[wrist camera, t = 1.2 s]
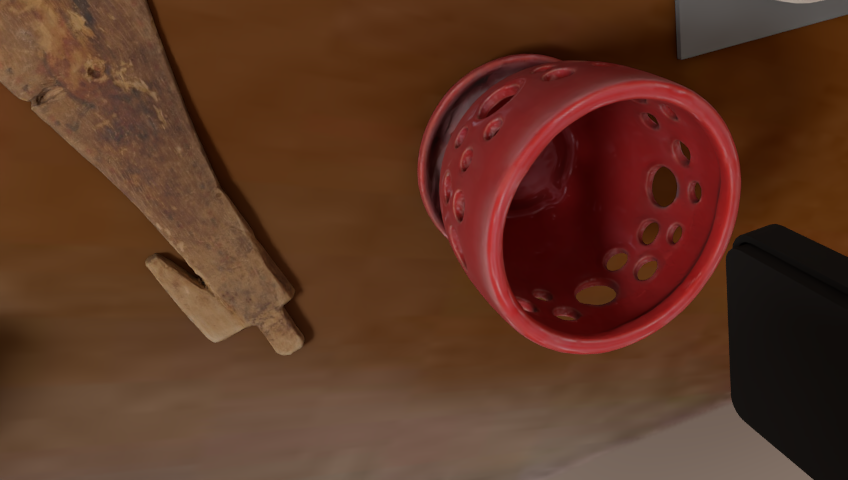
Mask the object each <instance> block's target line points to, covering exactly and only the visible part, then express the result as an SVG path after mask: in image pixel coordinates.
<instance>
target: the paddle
mask: <svg viewBox="0 0 848 480" xmlns="http://www.w3.org/2000/svg"><path fill="white" fill-rule="evenodd" d="M0 82H1V83H2V84H3V85H4V86H5V87H6V88H7V89H8V90H10V91H11V92H12V93H13V94H14V95H15V96H17V97H18V98H19V99H22V100H25V101H31V109H32V110H33V111H34V112H35V113H36V114H37V115H38V116H39V117H40V118H41V119H42V120H43V121H45V122H46V123H47V124H48V125H50V126H51V127H52V128H53V129H54V130H55V131H56V132H57V133H58V134H59V135H60V136H61V137H62V138H63V139H65V140H66V141H67V142H68V143H69V144H70V145H71V146H72V147H74V148H75V149H76V150H77V151H78V152H79V153H80V154H81V155H82V156H83V157H84V158H86V159H87V160H88V161H89V162H90V163H92V164H93V165H94V166H95V167H96V168H97V169H99V170H100V171H101V172H102V173H103V174H104V175H105V176H106V177H107V178H108V179H109V180H110V181H111V182H112V183H113V184H114V185H115V186H116V187H117V188H119V189H120V190H121V191H122V192H123V193H124V194H125V195H126V196H127V197H128V198H129V200H130V201H131V202H133V203H134V204H135V205H136V206H137V207H138V208H139V209H140V211H141V212H142V213H143V214H144V215H145V216H146V217H147V218H148V220H149V221H150V222H151V223H152V224H153V225H154V226H155V227H156V228H157V229H158V231H159V232H160V233H161V234H162V235H163V236H164V237H165V238H166V240H167V241H168V242H169V243H170V244H171V245H172V246H173V247H174V249H175V250H176V251H177V252H178V253H179V254H180V255H181V256H182V257H183V258H184V260H185V261H186V262H187V264H188V265H189V266H190V267H191V268H192V269H193V270H194V272H195V274H197V275H199V276H200V277H199V278H195V277H194V276H192V275H191V274H189V273H188V272H187V271H185V270H184V269H183V268H182V267H180V266H178V265H176V264H175V263H174V262H172V261H171V260H169V259H167V258H165V257H163V256H161V255H160V254H157V253H155V254H153V255H152V256H149V257H148V258H147V259H146V261H145V263H146V266H147V267H148V269H149V270H150V271H151V272H152V274H153V275H154V276H155V278H156V279H157V280H158V281H159V283H160V284H161V285H162V286H163V288H164V289H165V290H166V291H167V293H168V294H169V295H170V296H171V297H172V299H173V300H174V301H175V302H176V304H177V305H178V306H179V307H180V309H181V310H182V311H183V312H184V313H185V314H186V315H187V316H188V318H189V319H190V320H191V321H192V322H193V323H194V324H195V325H196V326H197V328H198V329H199V330H200V331H201V332H202V333H203V334H204V335H205V336H206V337H207V338H208V339H209V340H211V341H212V342H214V343H215V342H219V341H222V340H225V339H227V338H229V337H230V336H232V335H234V334H235V333H237V332H239V331H240V330H242V329H244V328H247V327H249V326H253V325H254V326H257V327H258V328H259V329H260V330H261V332H262V333H263V334H264V336H265V337H266V339H267V340H268V341H269V343H270V344H271V345H272V347H273V348H274V349H275V351H276V352H277V353H278V354H280V355H291V354H292V353H293V352H295V351H297V350H299V349H300V348H301V347H302V346H303V344H304V341H305V340H304V336H303V334H302V333H301V331H300V330H299V329H298V327H297V326H296V325H295V323H294V322H293V319H292V318H291V317H290V315H289V314H288V312H287V311H286V309H285V308H284V305H285V304H286V303H288V302H289V301H290V300H291V299H292V298H293V296H294V293H295V290H294V288H293V286H292V285H291V283H290V282H289V281H288V279H287V278H286V277H285V275H284V274H283V273H282V272H281V270H280V269H279V268H278V266H277V265H276V264H275V263H274V261H273V260H272V259H271V257H270V256H269V254H268V253H267V252H266V250H265V249H264V247H263V246H262V245H261V244H260V242H259V241H258V240H257V239H256V238H255V235H254V232H253V230H252V229H251V227H250V225H249V224H248V223H247V221H246V220H245V219H244V218H243V216H242V215H241V214H240V212H239V211H238V209H237V208H236V206H235V205H234V204H233V202H232V201H231V200H230V198H229V197H228V195H227V194H226V193H225V192H224V191H223V189H222V188H221V186H220V184H219V182H218V180H217V177H216V175H215V174H214V172H213V169H212V167H211V164H210V162H209V160H208V157H207V155H206V153H205V151H204V148H203V146H202V144H201V142H200V140H199V138H198V135H197V133H196V131H195V128H194V125H193V123H192V120H191V118H190V116H189V113H188V111H187V108H186V106H185V104H184V101H183V98H182V95H181V93H180V90H179V88H178V85H177V82H176V80H175V77H174V74H173V72H172V69H171V67H170V64H169V61H168V59H167V56H166V53H165V51H164V47H163V45H162V42H161V40H160V37H159V34H158V31H157V29H156V26H155V23H154V20H153V17H152V14H151V12H150V9H149V6H148V3H147V0H0ZM43 95H45V96H44V98H43Z"/></svg>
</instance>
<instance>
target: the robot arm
mask: <svg viewBox="0 0 848 480" xmlns="http://www.w3.org/2000/svg"><path fill="white" fill-rule="evenodd" d="M726 275H727V302H728V328H729V355H730V381H731V398H732V402H733V405H734V408H735V410H736V412H737V413H738V415H739V416H740V417H741V418H742V419H743V420H744V421H745V422H746V423H747V424H748V425H749V426H751V427H752V428H753V429H754V430H755V431H756V432H758V433H759V434H760V435H761V436H762V437H764V438H765V439H766V440H767V441H768V442H770V443H771V444H772V445H773V446H774V447H775V448H777V449H778V450H779V451H780V452H781V453H783V454H784V455H785V456H786V457H787V458H789V459H790V460H791V461H792V462H793V463H795V464H796V465H797V466H798V467H799V468H801V469H802V470H803V471H804V472H805V473H806V474H808V475H809V476H810V477H811V478H813V479H814V480H848V257H846V256H844V255H842V254H840V253H838V252H836V251H834V250H832V249H829V248H827V247H825V246H823V245H821V244H819V243H817V242H815V241H813V240H811V239H809V238H807V237H804V236H802V235H800V234H798V233H796V232H794V231H792V230H790V229H788V228H786V227H784V226H781V225H778V224H772V225H768V226H765V227H762V228H760V229H757V230H754V231H751V232H748V233H746V234H743V235H740V236H739V237H737V238H736V239H735V241H734V243H733V249H731V250H730V251H728V253H727V256H726Z"/></svg>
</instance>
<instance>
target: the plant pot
mask: <svg viewBox="0 0 848 480" xmlns="http://www.w3.org/2000/svg"><path fill="white" fill-rule="evenodd" d="M647 113H649V114H651V115H653V116H654V117H655V118H656V120H657V122H658V124H656V123H655V122H654V121H652V120H651V119H650V118H649V116H648V114H647ZM680 142H682V143H683V144H685V145H686V146H687V148H688V149H689V151H690V155H691V158H690V160H688V159H687V158H686V157H685V156H684V154H683V153H682V150H681V146H680ZM663 166H664V167H666V168H668V169H669V170H670V171H671V172H672V173H673V174H674V176H675V178H676V181H677V193H676V197H675V199H674V201H673V203H671V204H670V205H668V206H667V207H662V206H660V205H659V204H658V203H657V202H656V201H655V199H654V197H653V193H652V183H653V178H654V175H655V173H656V172H657V170H658V169H659V168H661V167H663ZM697 182H698V184H699V185H700V187H701V198H700V200H698V199H697V198H696V195H695V185H696V183H697ZM418 184H419V190H420V194H421V198H422V201H423V204H424V206H425V209H426V211H427V213H428V214H429V216H430V218H431V220H432V221H433V223H434V224H435V226H436V227H437V228H438V229H439V231H440V232H441V233H442V234H443V235H444V236H445V237H446V238H447V239H448V240H449V242H450V245H451V247H452V249H453V251H454V253H455V255H456V257H457V259H458V261H459V263H460V264H461V266H462V268H463V269H464V271H465V273H466V274H467V276H468V277H469V279H470V280H471V281H472V283H473V284H474V285H475V287H476V288H477V289H478V291H479V292H480V293H481V294H482V296H483V297H484V298H485V299H486V300H487V301H488V303H489V304H490V305H491V306H492V307H493V308H494V309H495V310H496V311H497V312H498V313H499V314H500V315H501V316H502V318H503V319H504V320H505V321H506V322H508V323H509V324H510V325H511V326H512V327H513V328H514V329H515V330H516V331H517V332H519V333H520V334H522V335H523V336H525V337H526V338H528V339H529V340H531V341H533V342H535V343H537V344H539V345H541V346H543V347H546V348H549V349H552V350H556V351H559V352H564V353H571V354H598V353H604V352H609V351H612V350H616V349H619V348H622V347H625V346H628V345H630V344H633V343H635V342H637V341H639V340H642V339H644V338H645V337H647V336H649V335H651V334H652V333H654V332H656V331H657V330H659V329H660V328H662V327H663V326H665V325H666V324H667V323H669V322H670V321H671V320H672V319H674V318H675V317H676V316H677V315H678V314H679V313H681V312H682V311H683V310H684V309H685V308H686V307H687V306H688V305H689V304H690V303H691V302H692V300H693V299H694V298H695V297H696V296H697V295H698V293H699V292H700V291H701V289H702V288H703V287H704V285H705V284H706V282H707V281H708V280H709V278H710V277H711V275H712V274H713V272H714V271H715V269H716V267H717V266H718V264H719V262H720V260H721V258H722V256H723V255H724V252H725V250H726V248H727V246H728V243H729V241H730V238H731V235H732V232H733V229H734V225H735V222H736V218H737V213H738V208H739V201H740V192H741V172H740V163H739V157H738V153H737V150H736V146H735V144H734V141H733V138H732V136H731V133H730V131H729V129H728V127H727V125H726V124H725V122H724V121H723V119H722V117H721V116H720V115H719V114H718V112H717V111H716V110H715V109H714V108H713V106H712V105H710V104H709V103H708V102H707V101H706V100H705V99H704V98H702V97H701V96H700V95H698V94H697V93H696V92H694V91H692V90H690V89H688V88H687V87H684V86H682V85H680V84H678V83H675V82H673V81H670V80H668V79H665V78H663V77H660V76H657V75H654V74H651V73H648V72H645V71H641V70H638V69H635V68H631V67H627V66H623V65H618V64H613V63H607V62H598V61H578V60H567V61H562V60H560V59H557V58H554V57H550V56H546V55H540V54H517V55H510V56H505V57H501V58H498V59H495V60H493V61H490V62H488V63H485V64H483V65H481V66H480V67H478V68H476V69H474V70H473V71H471V72H470V73H468V74H467V75H465V76H464V77H463V78H461V79H460V80H459V81H458V82H457V83H456V84H454V85H453V86H452V87H451V88H450V89H449V91H448V92H447V93H446V94H445V96H444V97H443V98H442V100H441V101H440V102H439V104H438V106H437V107H436V109H435V110H434V112H433V114H432V116H431V118H430V120H429V122H428V124H427V127H426V129H425V132H424V135H423V138H422V142H421V146H420V151H419V157H418ZM653 222H656V223H657V224H658V225H659V231H658V234H657V236H656V238H655V240H654V241H653V242H652V243H650V244H648V245H647V244H645V243H644V242H643V240H642V235H643V232H644V230H645V228H646V227H647V226H648V225H649V224H650V223H653ZM679 226H681V228H682V235H681V238H680V240H679V241H678V242H677V243H674V242H673V234H674V231H675V230H676V228H677V227H679ZM618 253H625V254H627V255H628V260H627V262H626V264H625V265H624V266H623V267H622V268H621V269H619V270H616V271H610V270H608V269H607V267H606V265H607V262H608V260H609V259H610V258H611V257H612V256H614V255H615V254H618ZM650 261H657V265H658V266H657V269H656V271H655V273H654V274H653V276H652V277H650V278H649V279H647V280H639V279H638V276H637V273H638V271H639V269H640V267H641V266H642V265H644V264H645V263H647V262H650ZM592 286H608V287H610V288H612V289H614V291H615V292H616V294H617V295H616V297H615V298H614V299H613V300H612V301H611V302H609V303H606V304H603V305H591V304H583V303H580V302H579V301H578V300H577V299H576V294H577V293H578V292H580V291H581V290H583V289H585V288H588V287H592ZM536 297H540V298H543V299H545V300H547V301H544V300H540V299H537V298H536ZM556 316H569V317H572V318H574V319H576V320H562V319H560V318H558V317H556Z"/></svg>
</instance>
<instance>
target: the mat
mask: <svg viewBox="0 0 848 480" xmlns="http://www.w3.org/2000/svg"><path fill="white" fill-rule="evenodd" d="M675 12H676V37H677V59H680V60H683V59H686V58H690V57H693V56H697V55H701V54H704V53H708V52H712V51H715V50H719V49H723V48H726V47H730V46H734V45H737V44H741V43H744V42H748V41H752V40H755V39H759V38H763V37H766V36H770V35H774V34H777V33H781V32H785V31H788V30H792V29H796V28H799V27H803V26H806V25H810V24H814V23H817V22H821V21H825V20H828V19H832V18H836V17H839V16H843V15H847V14H848V0H824V1H818V2H813V3H789V2H782V1H775V0H675Z"/></svg>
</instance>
